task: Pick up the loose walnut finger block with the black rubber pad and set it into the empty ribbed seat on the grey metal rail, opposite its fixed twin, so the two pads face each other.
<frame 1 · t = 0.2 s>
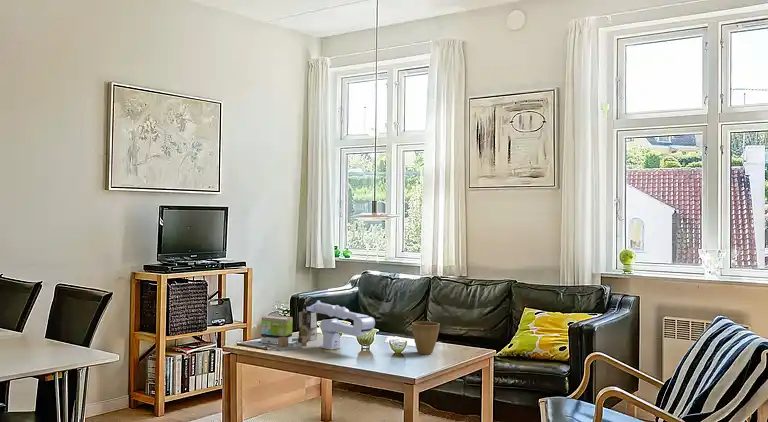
hand: (308, 305, 397), 21 cm above the table, tool horizontal, fingers open, 7 cm apart
plant pot: (425, 353, 373), on the table
finger block: (302, 346, 387), on the table
tea box: (276, 343, 394), on the table
rail: (288, 348, 377), on the table
coffee box: (307, 339, 408), on the table
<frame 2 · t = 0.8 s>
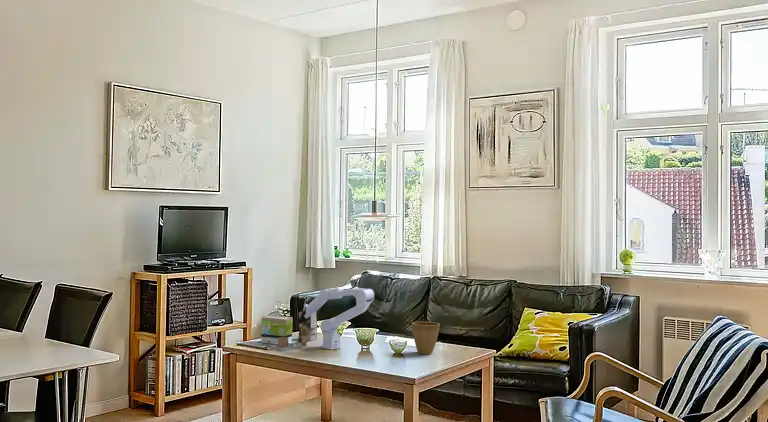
hand: (300, 319, 393), 14 cm above the table, tool tilted 50°, fingers open, 7 cm apart
nothing on the table moved.
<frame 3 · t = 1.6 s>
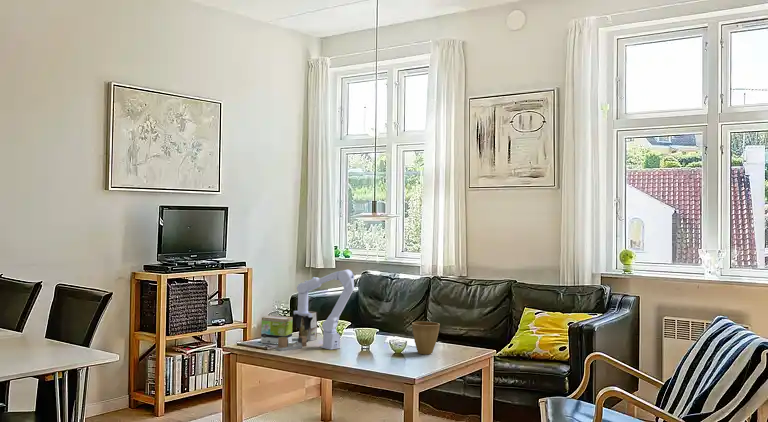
hand: (302, 328, 387), 9 cm above the table, tool pointing down, fingers open, 7 cm apart
nothing on the table moved.
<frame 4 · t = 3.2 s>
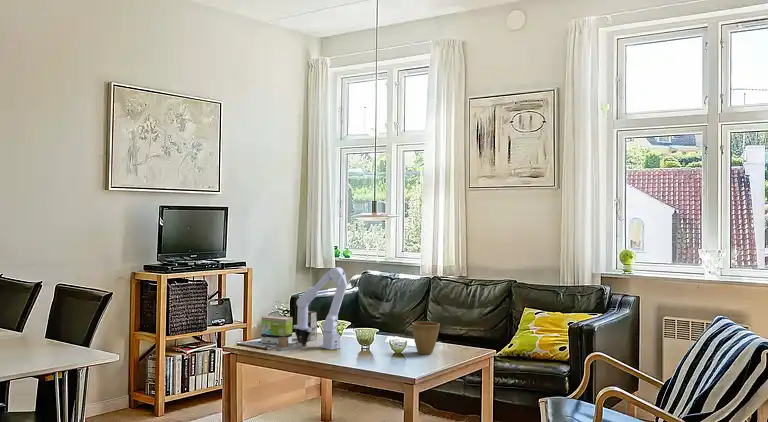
hand: (302, 343, 387), 1 cm above the table, tool pointing down, fingers closed on finger block, 3 cm apart
finger block: (302, 345, 387), on the table, touching gripper
everything else where it was.
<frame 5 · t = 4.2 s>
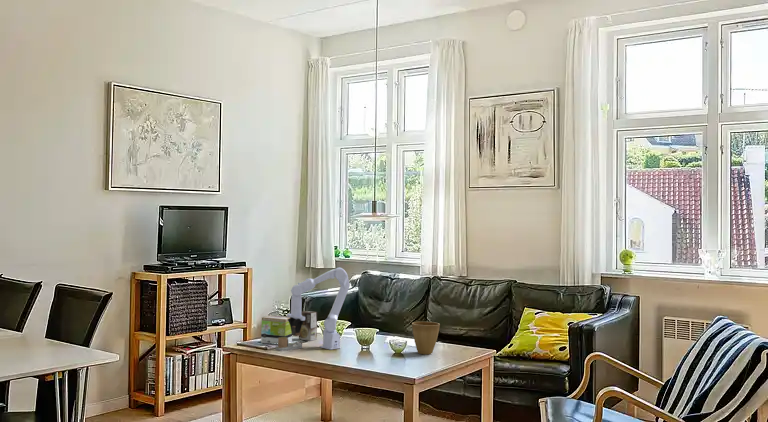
hand: (295, 332, 381), 8 cm above the table, tool pointing down, fingers closed on finger block, 3 cm apart
finger block: (295, 335, 381), point 7 cm above the table, touching gripper
everything else where it was.
when the fingers open (4 cm above the table, at t = 5.4 s): finger block stays where it is, resting on rail.
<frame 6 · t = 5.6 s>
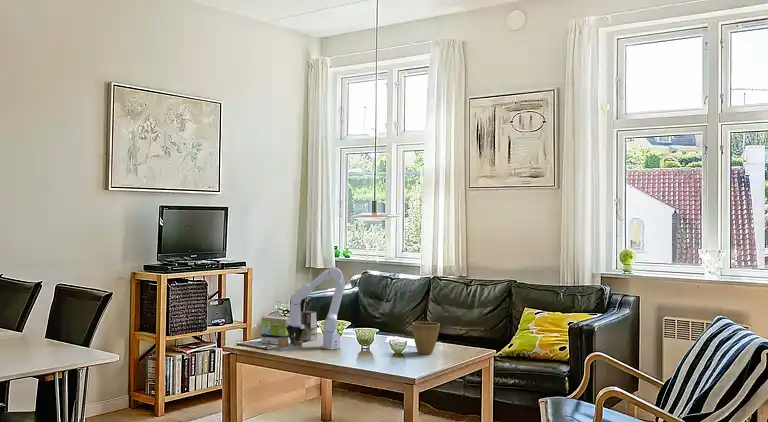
hand: (294, 340, 380), 4 cm above the table, tool pointing down, fingers open, 5 cm apart
finger block: (294, 345, 380), point 1 cm above the table, touching rail
everything else where it was.
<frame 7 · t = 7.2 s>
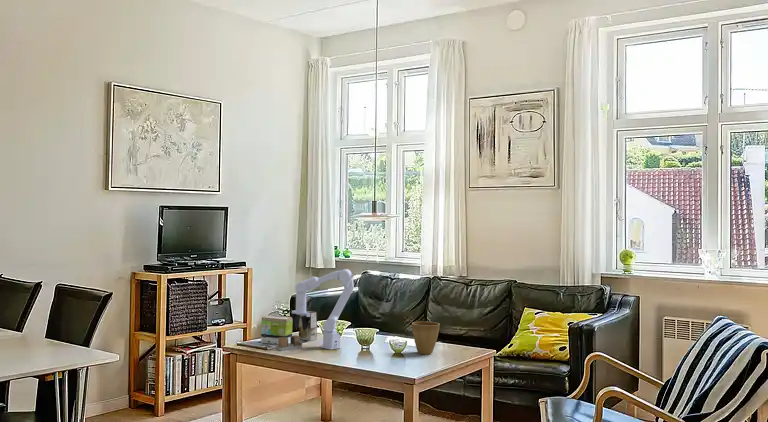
hand: (300, 328, 385), 10 cm above the table, tool pointing down, fingers open, 7 cm apart
nothing on the table moved.
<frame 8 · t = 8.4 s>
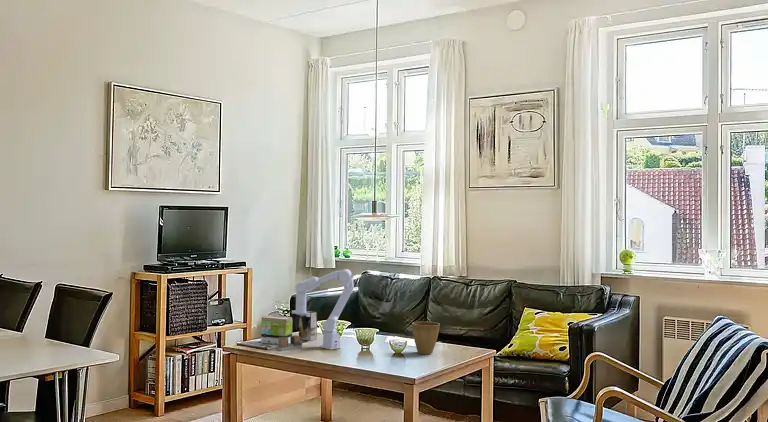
hand: (300, 328, 385), 10 cm above the table, tool pointing down, fingers open, 7 cm apart
nothing on the table moved.
at the end: finger block 0.1 cm from the target spot on the rail, point 1.5 cm above the rail's base; finger block tilted 0°; the gripper is holding nothing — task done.
